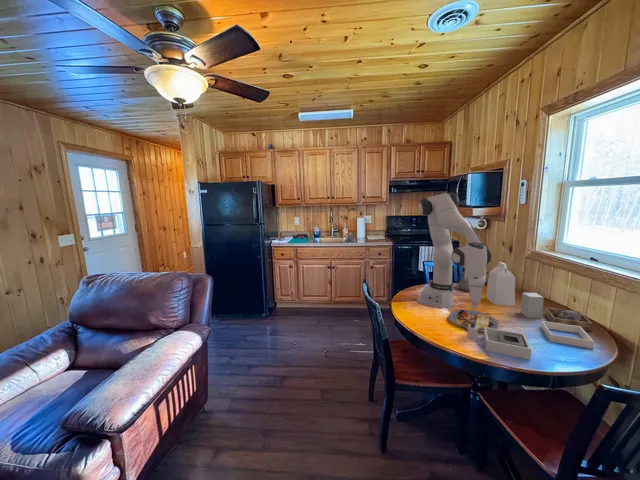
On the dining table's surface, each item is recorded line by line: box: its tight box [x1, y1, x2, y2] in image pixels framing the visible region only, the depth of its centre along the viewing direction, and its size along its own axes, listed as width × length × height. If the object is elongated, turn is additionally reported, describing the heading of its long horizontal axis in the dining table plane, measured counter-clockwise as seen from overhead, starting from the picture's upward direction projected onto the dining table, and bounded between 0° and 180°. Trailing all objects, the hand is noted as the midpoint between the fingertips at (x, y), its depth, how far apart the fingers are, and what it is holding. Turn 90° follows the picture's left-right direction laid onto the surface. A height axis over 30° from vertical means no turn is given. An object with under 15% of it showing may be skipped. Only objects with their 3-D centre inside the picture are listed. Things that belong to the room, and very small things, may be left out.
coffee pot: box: [457, 271, 490, 292], centre depth 192 cm, size 21×12×15 cm, turn 65°
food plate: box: [447, 308, 500, 332], centre depth 146 cm, size 25×23×4 cm
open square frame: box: [540, 320, 595, 349], centre depth 127 cm, size 15×15×4 cm
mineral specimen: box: [557, 310, 584, 321], centre depth 140 cm, size 10×8×10 cm
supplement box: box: [520, 292, 545, 319], centre depth 150 cm, size 7×7×13 cm
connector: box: [467, 321, 479, 342], centre depth 129 cm, size 4×4×8 cm
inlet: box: [497, 332, 525, 347], centre depth 120 cm, size 9×9×4 cm
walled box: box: [483, 327, 532, 361], centre depth 121 cm, size 16×14×5 cm
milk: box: [485, 261, 516, 306], centre depth 170 cm, size 12×12×26 cm
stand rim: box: [544, 307, 593, 332], centre depth 142 cm, size 15×15×4 cm
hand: (473, 304), depth 127 cm, fingers open, 8 cm apart
